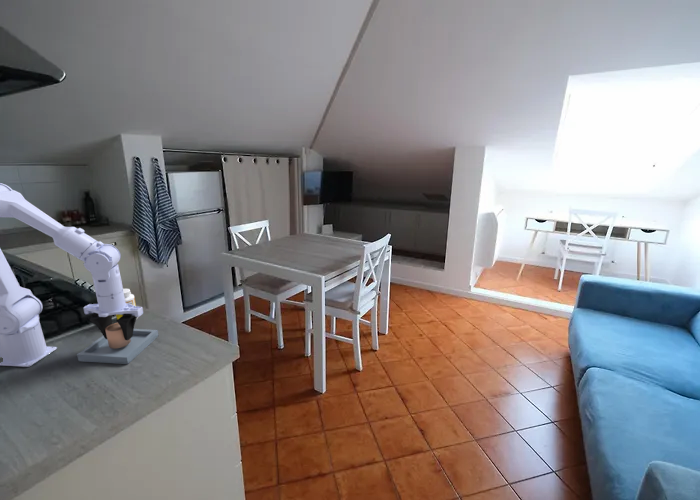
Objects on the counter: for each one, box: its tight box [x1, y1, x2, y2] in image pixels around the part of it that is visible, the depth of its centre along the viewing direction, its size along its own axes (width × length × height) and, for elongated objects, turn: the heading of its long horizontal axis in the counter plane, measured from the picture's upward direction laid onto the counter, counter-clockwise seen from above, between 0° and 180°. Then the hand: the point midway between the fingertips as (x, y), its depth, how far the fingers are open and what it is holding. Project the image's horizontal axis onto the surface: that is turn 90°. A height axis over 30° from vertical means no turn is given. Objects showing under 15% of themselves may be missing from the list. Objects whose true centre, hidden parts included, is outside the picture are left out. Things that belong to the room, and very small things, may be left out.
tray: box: [76, 328, 159, 365], centre depth 89 cm, size 13×13×2 cm
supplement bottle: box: [115, 288, 139, 321], centre depth 102 cm, size 6×6×10 cm
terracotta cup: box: [105, 322, 131, 349], centre depth 89 cm, size 5×6×5 cm
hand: (119, 337), depth 89 cm, fingers closed on terracotta cup, 5 cm apart
